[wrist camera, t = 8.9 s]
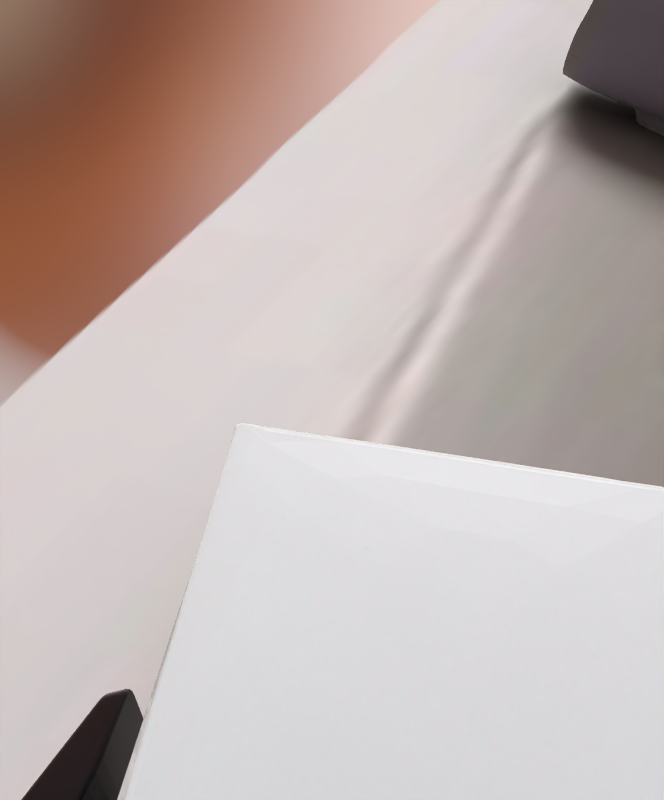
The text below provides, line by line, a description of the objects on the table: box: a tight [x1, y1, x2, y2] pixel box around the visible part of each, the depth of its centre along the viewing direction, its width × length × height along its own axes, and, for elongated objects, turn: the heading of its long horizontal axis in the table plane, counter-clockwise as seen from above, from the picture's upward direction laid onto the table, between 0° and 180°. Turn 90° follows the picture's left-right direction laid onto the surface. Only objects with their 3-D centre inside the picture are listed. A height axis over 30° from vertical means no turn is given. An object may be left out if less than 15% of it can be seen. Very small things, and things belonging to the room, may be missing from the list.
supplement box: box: [117, 423, 664, 800], centre depth 10 cm, size 7×7×13 cm
